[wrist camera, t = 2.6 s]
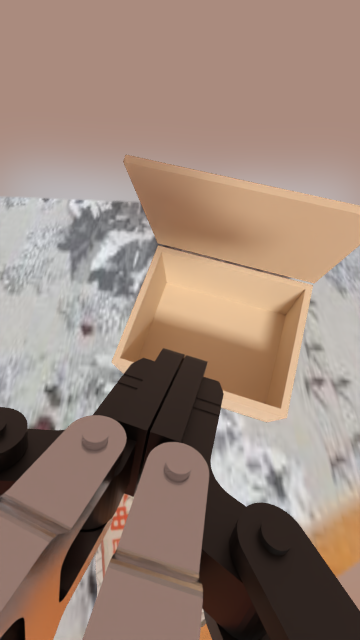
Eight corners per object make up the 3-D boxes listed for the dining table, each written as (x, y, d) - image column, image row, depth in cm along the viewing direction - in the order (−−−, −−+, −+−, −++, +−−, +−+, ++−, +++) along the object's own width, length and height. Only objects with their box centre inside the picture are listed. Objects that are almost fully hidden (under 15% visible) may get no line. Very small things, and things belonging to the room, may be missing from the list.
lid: (123, 161, 20) (126, 153, 20) (157, 243, 33) (159, 237, 33) (388, 220, 18) (390, 210, 18) (314, 283, 30) (315, 277, 31)
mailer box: (127, 377, 36) (111, 362, 29) (164, 278, 40) (158, 244, 33) (266, 422, 34) (286, 418, 27) (290, 313, 38) (313, 284, 31)
